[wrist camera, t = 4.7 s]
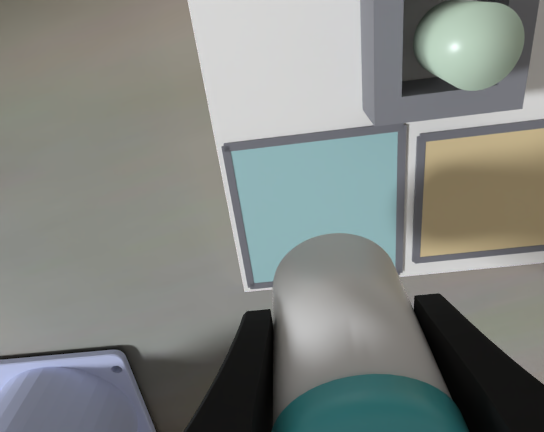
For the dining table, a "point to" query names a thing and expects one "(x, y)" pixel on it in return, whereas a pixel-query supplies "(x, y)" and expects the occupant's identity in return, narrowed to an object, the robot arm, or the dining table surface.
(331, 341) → the jar with teal lid
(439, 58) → the button
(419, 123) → the picture board
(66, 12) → the dining table surface
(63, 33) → the dining table surface
